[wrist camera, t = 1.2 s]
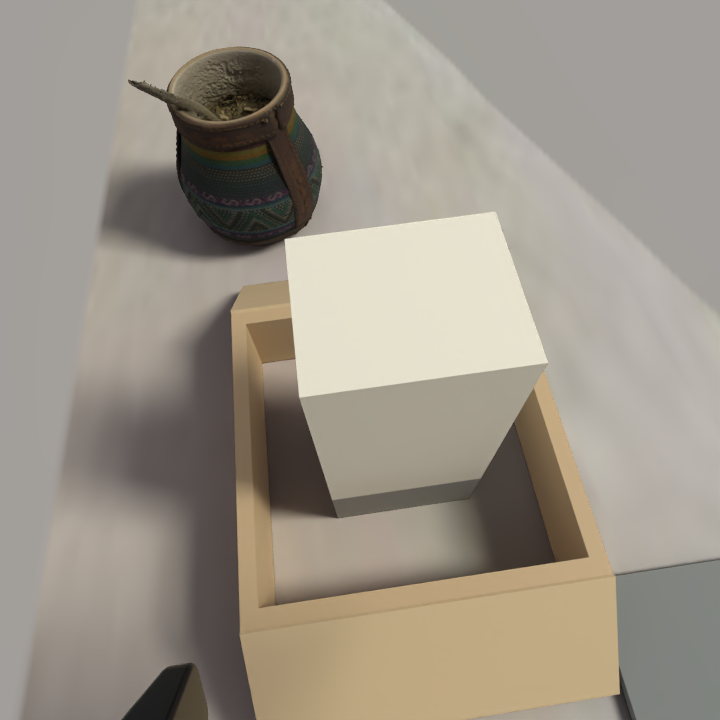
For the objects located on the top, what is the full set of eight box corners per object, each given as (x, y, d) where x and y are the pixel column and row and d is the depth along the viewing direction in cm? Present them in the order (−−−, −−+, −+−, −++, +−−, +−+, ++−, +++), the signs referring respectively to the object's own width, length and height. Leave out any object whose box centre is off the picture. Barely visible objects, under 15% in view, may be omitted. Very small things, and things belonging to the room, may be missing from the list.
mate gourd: (353, 200, 31) (342, 19, 22) (268, 290, 28) (215, 124, 19) (257, 152, 33) (212, -31, 24) (169, 231, 30) (81, 57, 21)
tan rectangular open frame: (611, 692, 19) (658, 701, 16) (266, 749, 18) (242, 769, 15) (478, 263, 28) (491, 214, 25) (246, 294, 28) (228, 248, 24)
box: (469, 498, 22) (547, 362, 12) (338, 518, 22) (299, 397, 12) (446, 400, 24) (495, 211, 14) (326, 417, 24) (284, 239, 14)
